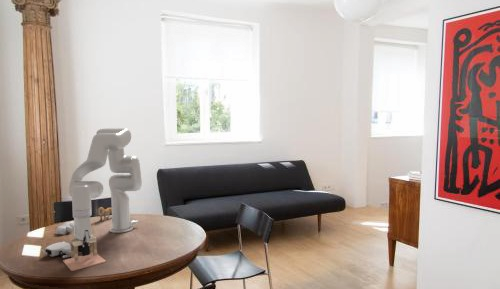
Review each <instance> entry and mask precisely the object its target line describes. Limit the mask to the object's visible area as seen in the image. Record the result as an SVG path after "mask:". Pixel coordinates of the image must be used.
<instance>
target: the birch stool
mask: <svg viewBox="0 0 500 289" xmlns="http://www.w3.org/2000/svg"><path fill="white" fill-rule="evenodd" d="M84 239H85V238H83V240H84ZM84 242H86V241H84ZM89 244H90V254H91V253H93V256H97V254H98V250H97V249H98V246H97V244H98V243H97V237H96V236H95V235H94V234H91V238H90V243H89ZM79 245H82V240H81V241H79V240H78V239H76V238H75V237H73V238H70V246H71V258H74V260H75V261H76V260H78V256H79V252H78V246H79Z"/></svg>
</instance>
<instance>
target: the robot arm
mask: <svg viewBox="0 0 500 289" xmlns="http://www.w3.org/2000/svg"><path fill="white" fill-rule="evenodd" d="M131 139H132V133H131V130H129V129H128V128H123V127H122V128H119V127H118V128H112V127H111V128H110V127H109V128H100V129H98V130H96V134H95V135H94V136H93V137H92V139H91V144H90V147H89V151H88V153H87V154H88V155H87V158H86V159H85V161H83V162H82V163H81V164H80V165H79V166H78V167H77V168H76V169H75V170H74V171H73V174H72V175H71V177H70V181H69V185H68V193H69V196H71V203H72V218H73V221H74V231H73V238H76V239H78V240H79V241H81V240H82V245H79V246H78V254H79V253H81V256H86V255H89V254H91V253H90V238H91V235H92V225H91V224H92V222H91V216H92V209H93V208H92V199H95V198H98V197H100V196H102V194H103V193H104V192H103V191H104V185H103V184H102V182H100V181H97V180H92V181H91V180H83V178H84V177H85V176H87V175H88V174H90V173H92V172H94V171H96V170H99V169H102V168H103V167H104V166H106V163H107V158H108V164H109V165H108V166H109V170H110V172H112V173H115V174H113V175H111V176H110V177H109V179H108V187H109V191H110V198H111V200H110V201H111V208H112V214H111V225H112V226H111V227H109V232H110V233H113V234H117V233H118V234H119V233H120V234H122V233H126V232H130V231H132V230H133V229H134V225H138V224H139V223H140V221H139V220H131V215H130V214H131V211H130V210H131V208H130V197H129V194H128V193H127V192H137V191H140V190H141V188H142V186H143V185H142V184H143V183H142V182H143V181H142V172H141V164H140V160H139V157H137V156H135V155H126V154H125V151H124V150H125V147H127V146H128V145H129V144H130V142H131ZM83 238H85V239H84V240H83ZM84 241H86V242H84Z"/></svg>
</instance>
